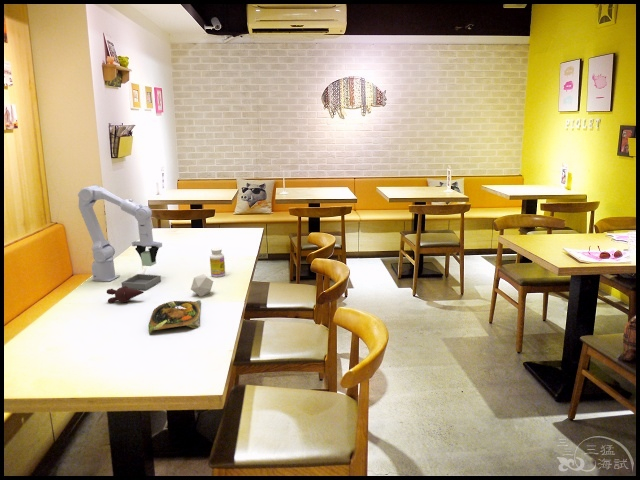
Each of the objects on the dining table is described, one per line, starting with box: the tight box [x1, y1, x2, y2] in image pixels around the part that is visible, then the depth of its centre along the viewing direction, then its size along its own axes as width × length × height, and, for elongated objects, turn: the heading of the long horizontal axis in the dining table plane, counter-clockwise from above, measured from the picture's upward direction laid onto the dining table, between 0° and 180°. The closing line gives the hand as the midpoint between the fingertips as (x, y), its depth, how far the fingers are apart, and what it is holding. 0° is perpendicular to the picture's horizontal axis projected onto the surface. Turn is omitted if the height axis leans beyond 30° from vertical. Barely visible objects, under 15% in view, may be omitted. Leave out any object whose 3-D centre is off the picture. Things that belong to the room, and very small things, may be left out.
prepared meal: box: [148, 299, 201, 336], centre depth 185 cm, size 28×4×18 cm
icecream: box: [106, 286, 145, 304], centre depth 202 cm, size 7×7×15 cm
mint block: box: [140, 250, 157, 267], centre depth 229 cm, size 4×4×6 cm
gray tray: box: [120, 273, 162, 292], centre depth 222 cm, size 12×12×3 cm
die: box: [190, 273, 214, 297], centre depth 208 cm, size 8×9×10 cm
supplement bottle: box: [209, 247, 226, 278], centre depth 232 cm, size 7×7×13 cm
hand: (148, 261), depth 229 cm, fingers closed on mint block, 4 cm apart
